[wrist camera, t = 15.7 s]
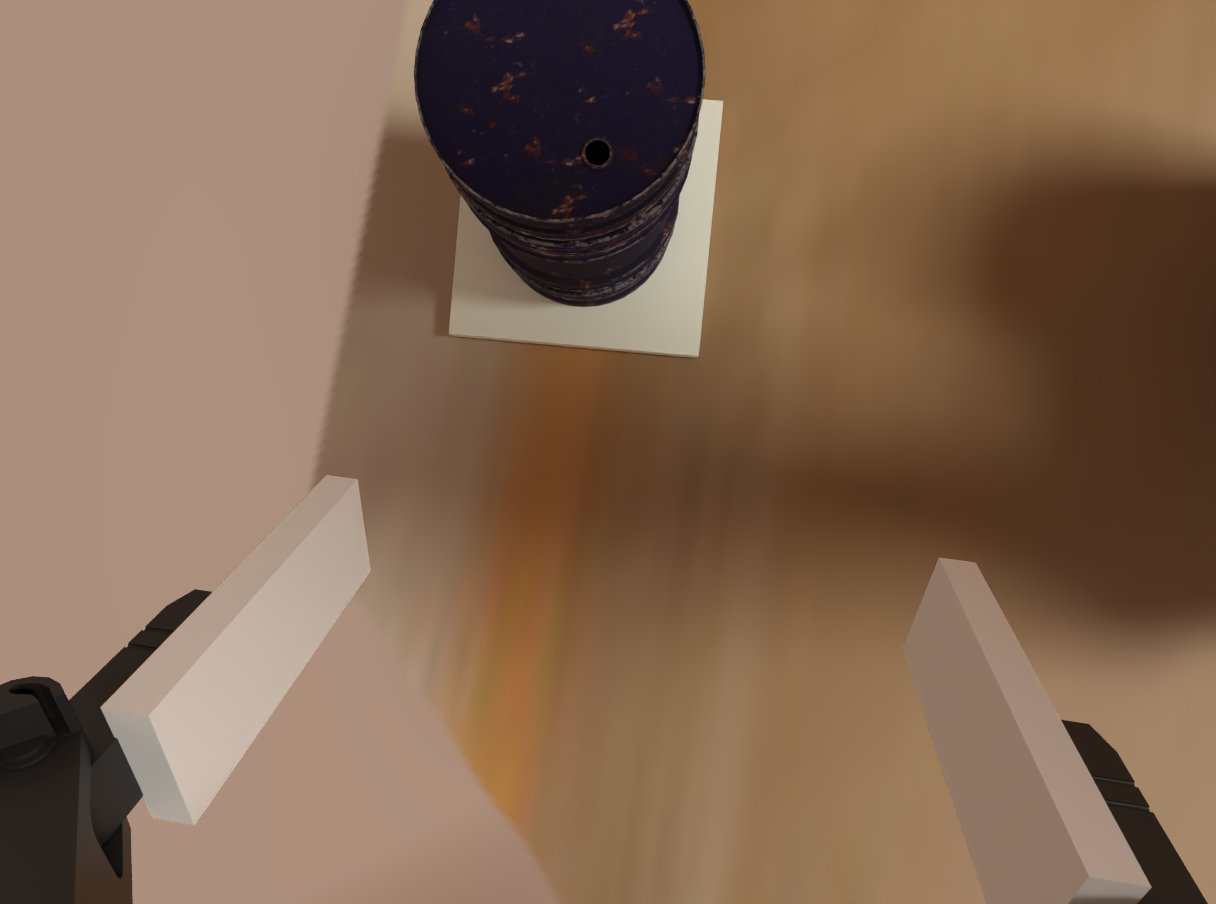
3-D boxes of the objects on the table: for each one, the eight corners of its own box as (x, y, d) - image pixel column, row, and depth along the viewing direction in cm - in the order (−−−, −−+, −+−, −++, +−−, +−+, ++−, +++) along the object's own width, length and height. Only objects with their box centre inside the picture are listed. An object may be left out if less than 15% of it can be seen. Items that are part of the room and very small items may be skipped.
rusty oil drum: (465, 179, 37) (359, 5, 22) (624, 97, 37) (626, -134, 22) (545, 340, 37) (493, 277, 22) (704, 260, 37) (760, 143, 22)
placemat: (720, 109, 37) (723, 100, 36) (696, 358, 38) (698, 356, 37) (474, 89, 38) (470, 80, 37) (453, 336, 38) (448, 333, 37)
